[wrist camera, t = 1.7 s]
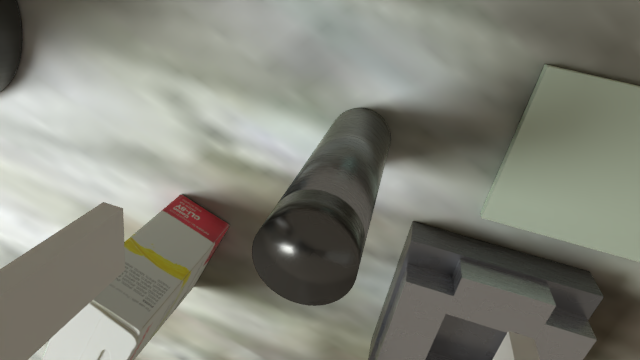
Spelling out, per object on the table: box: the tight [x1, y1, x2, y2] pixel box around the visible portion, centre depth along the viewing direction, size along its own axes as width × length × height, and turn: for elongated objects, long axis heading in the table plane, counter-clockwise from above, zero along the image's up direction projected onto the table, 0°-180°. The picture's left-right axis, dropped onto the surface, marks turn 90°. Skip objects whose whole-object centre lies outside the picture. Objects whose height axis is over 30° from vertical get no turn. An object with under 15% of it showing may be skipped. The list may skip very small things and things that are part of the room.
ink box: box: [42, 195, 229, 360], centre depth 30 cm, size 9×5×12 cm, turn 148°
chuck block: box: [368, 221, 603, 360], centre depth 29 cm, size 12×12×4 cm
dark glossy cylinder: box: [252, 108, 391, 305], centre depth 21 cm, size 4×4×14 cm
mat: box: [480, 64, 640, 262], centre depth 25 cm, size 10×10×1 cm
